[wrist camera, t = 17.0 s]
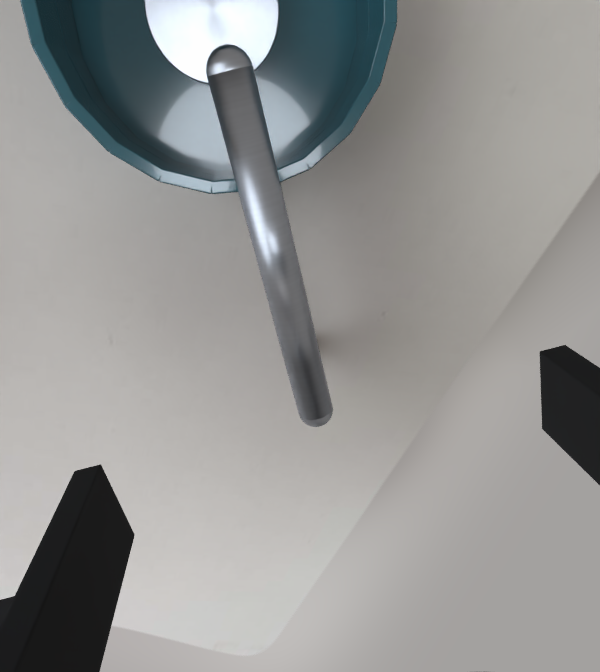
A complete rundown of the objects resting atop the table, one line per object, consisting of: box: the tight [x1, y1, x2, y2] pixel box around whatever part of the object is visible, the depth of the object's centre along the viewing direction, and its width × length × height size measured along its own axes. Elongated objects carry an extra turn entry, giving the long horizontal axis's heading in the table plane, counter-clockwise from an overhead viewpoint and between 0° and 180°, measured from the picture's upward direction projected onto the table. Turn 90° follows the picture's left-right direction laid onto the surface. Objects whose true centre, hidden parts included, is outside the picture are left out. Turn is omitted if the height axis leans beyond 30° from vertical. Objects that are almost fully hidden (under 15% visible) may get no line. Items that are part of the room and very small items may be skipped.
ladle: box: [144, 0, 333, 427], centre depth 25 cm, size 23×6×9 cm, turn 13°
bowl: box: [20, 0, 397, 194], centre depth 23 cm, size 15×15×6 cm
